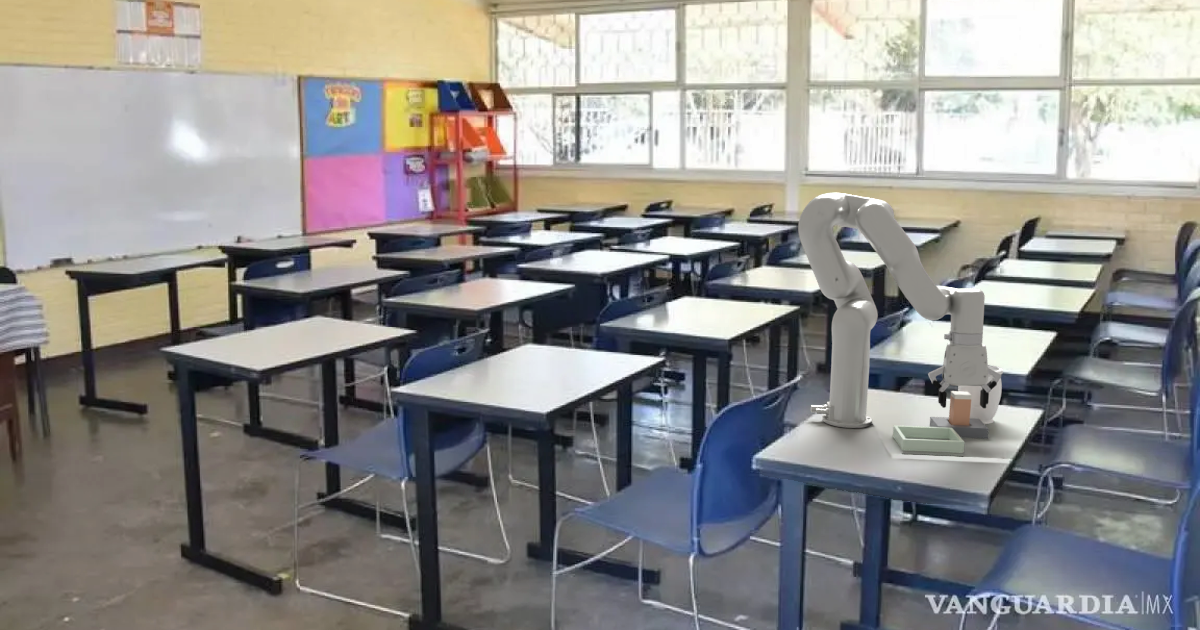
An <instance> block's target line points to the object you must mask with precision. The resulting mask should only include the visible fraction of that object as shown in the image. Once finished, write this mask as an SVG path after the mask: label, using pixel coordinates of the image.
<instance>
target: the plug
mask: <svg viewBox="0 0 1200 630" xmlns="http://www.w3.org/2000/svg"><path fill="white" fill-rule="evenodd" d="M971 397H972V395H971V394H969V393H968V392H964V391H958V390H950V399H949V400H950V401H949V412H948V413H949V414H948V417H949V423H950V424H951V425H968V426H969V422H970V410H971Z"/></svg>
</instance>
